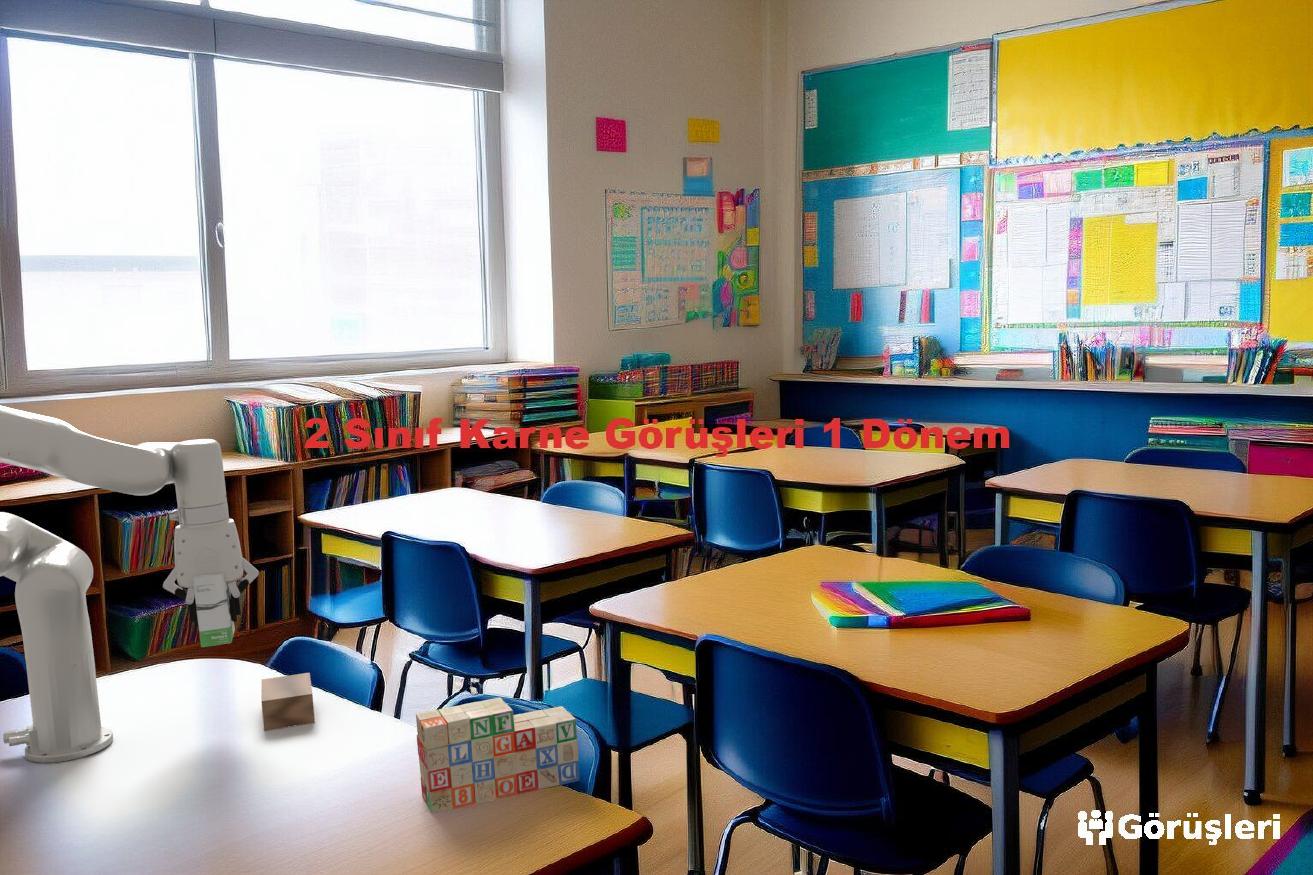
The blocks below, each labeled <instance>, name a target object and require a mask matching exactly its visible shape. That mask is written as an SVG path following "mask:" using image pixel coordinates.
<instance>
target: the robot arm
mask: <svg viewBox="0 0 1313 875" xmlns="http://www.w3.org/2000/svg"><path fill="white" fill-rule="evenodd" d="M0 463H2V464H3V463H4V464H6V465H12V466H16V467H21V468H26V469H30V470H34V471H38V472H42V473H46V474H48V475H50V476H54V477H57V478H58V477H59V478H61V479H65V480H69V481H72V482H75V483H80V484H82V485H87V486H89V487H90V486H91V487H95V488H98V489H103V490H107V491H112V492H117V493H122V494H127V495H133V496H141V497H142V496H149V495H153V494H155V493H158V491H160V490H162V488H163V487H165V485H170V484H174V486H175V494H176V502H177V508H176V510H172V511H168V517H169V521H172V520H174V521H177V522H179V525H177V526H175V529H174V536H173V537H174V539H173V544H174V546H173V547H174V548H173V549H174V550H173V551H174V565H175V566H174V568H173V569H172V570H171V572H170V573H169V575H168V576H167V578H165V580H164V581H163V584H162V588H163V589H164V590H166V591H167V592H170V593H172V594H173V595H175V596H176V597H177V598H179V599H180V600H182V601H184V602H185V604H186V605H187V607H188V614H189V615H188V616H189V621H190V623H193V622H194V628H196V629H197V628H199V626H198V618H197V610H196V601H195V593H194V585H193V577H192V576H193V575H204V574H216V573H224V577H225V582H226V583H227V584H228V587H229V589H230V593H231V596H230V606H231V614H232V621H234V623H237V622H238V616H241V615H242V608H241V602H240V601H241V600H240V596H241V595H242V593H244V591H245V590H246V588H247V587H249V585H250V584H251V583H252V582H253V581H254V580H255V579H256V578H257V577H259V574H260V573H259V570H258V569H257V568H256V567H255V566H253V564H251V563H250V562H249V561H248V560H247V559H246V558H244V557H243V554H242V548H241V542H240V538H239V534H238V530H237V526H236V523H235V521H234V519H233V518H230V515H229V505H228V500H227V499H228V496H227V491H226V490H227V489H226V480H225V470H224V462H223V454H222V447H221V444H220V443H219V442H218V441H217V440H215V439H212V438H200V439H197V438H196V439H189V440H183V441H180V442H158V441H157V442H153V441H152V442H150V441H147V442H141V443H138V444H136V445H131V444H126V443H121V442H117V441H112V440H109V439H105V438H102V437H97V436H95V435H91V434H88V433H86V432H83V431H81V430H78V429H77V428H76V427H74V426H72V424H70V423H68V422H66V421H64V420H61V419H59V418H56V417H52V416H47V415H42V414H38V413H34V412H29V411H25V410H20V409H15V408H12V407H7V406H4V405H1V404H0ZM244 571H245V572H246V573H247V574H246V575H245V576H244V578H242V577H243V574H244ZM0 577H5V578H7V579H9V580H11V581H13V582H16V584H15V589H14V590H15V591H14V598H15V600H14V601H15V606H16V610H17V615H18V621H19V625H20V629H21V635H22V642H23V650H24V659H25V664H26V665H25V666H26V673H27V674H26V675H27V684H28V691H29V692H28V693H29V702H30V708H31V709H30V710H31V711H30V712H31V718H32V719H31V721H32V724H31V725H28V726H25V728H23V729H11V730H6V731H5V730H4V731H3V733H2V738H3V740H2V741H3V743H4V744H8V746H9V747H14V746H20V745H24V744H25V745H26V746H25V748H24V757H25V759H26V760H28V761H31V762H34V763H45V764H46V763H59V762H60V763H61V762H66V761H71V760H76V759H80V758H84V757H87V756H90V755H92V754H95V753H97V752H100V751H101V750H104V749H105V748H106V747H108V746H110V744H111V743H113V740H114V733H113V731H112V730H111V729H109V728H107V727H103V726H102V723H101V721H102V720H101V713H100V705H99V704H100V703H99V694H98V684H97V677H96V676H97V674H96V673H97V672H96V663H95V656H94V655H95V654H94V648H93V647H94V646H93V640H92V639H93V637H92V629H91V624H90V622H91V621H90V616H89V613H88V605H87V597H86V595H87V591H88V589H89V587H90V586H91V583H92V581H93V579H94V566H93V563H92V560H91V559H90V557H89V556H88V554H87V553H86V552H85V551H84V550H82V549H81V548H79V547H78V546H76V545H75V544H73V543H71V542H70V541H67V540H65V539H63V538H62V537H60V536H57V535H56V534H54V533H52V532H50V531H49V530H46V529H44V528H42V527H40V526H38V525H36V524H35V523H32V522H31V521H29V520H26V519H25V518H23V517H20V516H18V515H15V514H12V513H9V512H5V511H0ZM240 579H241V580H240ZM238 580H240V581H239V582H238ZM176 581H177V584H176V583H175V582H176ZM186 588H187V590H186Z"/></svg>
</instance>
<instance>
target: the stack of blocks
mask: <svg viewBox="0 0 1313 875" xmlns="http://www.w3.org/2000/svg"><path fill="white" fill-rule="evenodd" d="M415 719H416V732H417V734H416V745H417V754H418V763H419V773H420V774H419V775H420V786H421V797H422V799H423V801H424V802H425V804H426V805H427V808H428V810H429V811H430V812H429V813H431V814H433V813H438V812H443V811H447V810H452V809H458V808H462V807H463V808H464V807H467V806H472V805H477V804H480V803H481V804H482V803H486V802H491V801H495V800H498V799H503V798H506V797H511V796H515V795H519V794H524V793H530V792H533V791H534V792H535V791H538V790H543V789H548V788H553V787H557V786H562V785H566V784H570V783H575V782H579V781H580V767H579V766H580V763H579V762H580V761H579V760H580V758H579V744H578V743H579V742H578V741H579V740H578V731H577V719H576V718H575V717H574V716H573V715H572V714H571V713H570V712H569V711H567V709H566V708H565V707H564V706H562V705H561V706H555V707H551V708H550V707H549V708H546V709H538V710H533V711H528V712H524V713H523V712H522V713H518V714H514V710H513V709H512V708H511V707H510V705H508V704H507V703H506V702H505V701H504V700H503V698H502V697H497V698H491V699H490V698H489V699H484V700H480V701H473V702H470V703H469V702H468V703H464V704H460V705H455V706H449V707H445V708H443V707H442V708H439V709H432V710H426V711H422V712H417V713H416V714H415Z"/></svg>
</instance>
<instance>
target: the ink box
mask: <svg viewBox="0 0 1313 875" xmlns="http://www.w3.org/2000/svg"><path fill="white" fill-rule="evenodd" d="M192 577H193V585H194V593H195V601H196V610H197V618H198V626H199V627H198V633H199V634H198V635H199V642H200V647H201V648H205V647H213V646H221V645H225V644H226V645H227V644H231V643H233V638H234V635H235V631H236V629H235V628H236V627H235V622H234V621H232V614H231V606H230V596H231V591H230V589H229V587H228V584H227V583H226V582H225V577H224V573H216V574H204V575H193V576H192Z"/></svg>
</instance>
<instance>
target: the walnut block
mask: <svg viewBox="0 0 1313 875" xmlns="http://www.w3.org/2000/svg"><path fill="white" fill-rule="evenodd" d="M312 689H313V688H312V680H311V673H310V672H304V673H298V674H292V675H290V674H289V675H283V676H276V677H269V678H262V679H261V694H260V695H261V710H262V712H261V713H262V723H263V731H264V732H265V731H271V730H278V729H284V728H289V727H288V726H291V727H295V726H294V725H297V726H303V725H308V724H310V725H311V724H315V722H316V720H315V711H314V710H315V709H314V697H313V690H312ZM283 727H284V728H283ZM277 728H278V729H277Z"/></svg>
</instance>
